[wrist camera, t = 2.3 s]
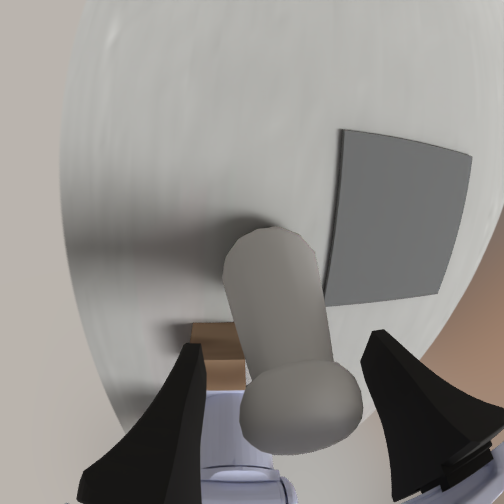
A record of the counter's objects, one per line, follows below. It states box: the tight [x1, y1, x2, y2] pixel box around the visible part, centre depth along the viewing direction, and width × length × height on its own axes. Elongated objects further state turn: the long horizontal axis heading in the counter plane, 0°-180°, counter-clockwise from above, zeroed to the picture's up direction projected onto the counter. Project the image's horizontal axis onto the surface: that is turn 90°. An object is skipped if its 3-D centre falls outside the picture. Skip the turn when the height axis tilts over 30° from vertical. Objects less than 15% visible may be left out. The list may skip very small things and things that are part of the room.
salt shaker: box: [222, 226, 363, 455], centre depth 13 cm, size 6×6×13 cm
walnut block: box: [190, 322, 246, 391], centre depth 20 cm, size 4×4×4 cm
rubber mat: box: [323, 130, 472, 307], centre depth 18 cm, size 13×12×1 cm
